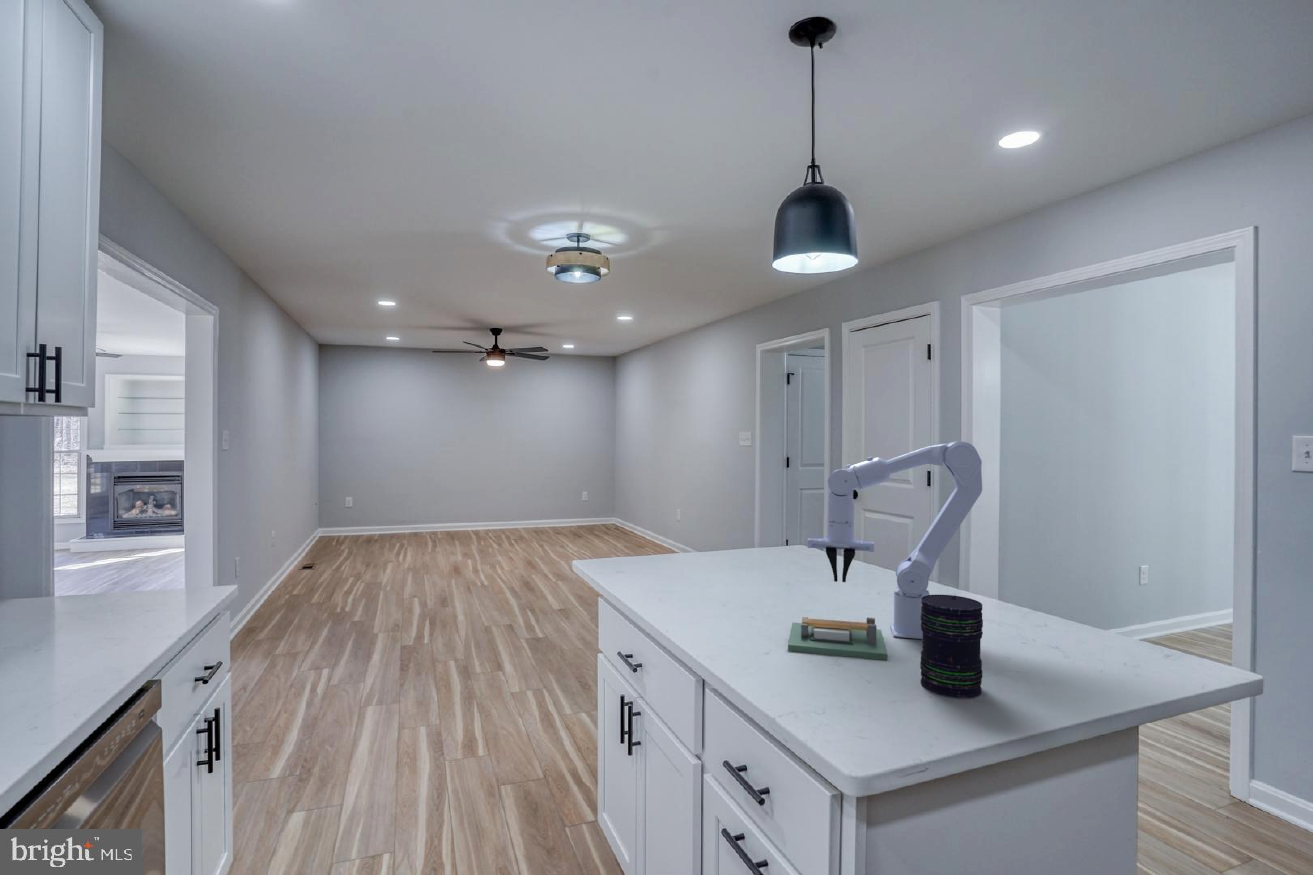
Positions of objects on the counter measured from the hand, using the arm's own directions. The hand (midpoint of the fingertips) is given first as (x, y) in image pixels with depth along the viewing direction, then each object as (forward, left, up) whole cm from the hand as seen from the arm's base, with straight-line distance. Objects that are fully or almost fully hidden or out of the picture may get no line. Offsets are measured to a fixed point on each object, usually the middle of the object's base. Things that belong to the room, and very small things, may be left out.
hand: (839, 581), depth 145 cm
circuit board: (+1, +12, -10) cm, 16 cm away
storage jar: (-18, +31, -11) cm, 37 cm away
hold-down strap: (0, +12, -8) cm, 14 cm away
